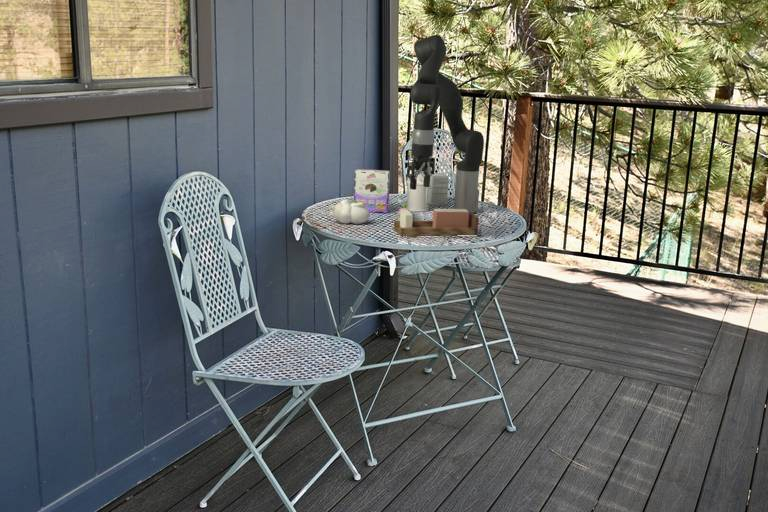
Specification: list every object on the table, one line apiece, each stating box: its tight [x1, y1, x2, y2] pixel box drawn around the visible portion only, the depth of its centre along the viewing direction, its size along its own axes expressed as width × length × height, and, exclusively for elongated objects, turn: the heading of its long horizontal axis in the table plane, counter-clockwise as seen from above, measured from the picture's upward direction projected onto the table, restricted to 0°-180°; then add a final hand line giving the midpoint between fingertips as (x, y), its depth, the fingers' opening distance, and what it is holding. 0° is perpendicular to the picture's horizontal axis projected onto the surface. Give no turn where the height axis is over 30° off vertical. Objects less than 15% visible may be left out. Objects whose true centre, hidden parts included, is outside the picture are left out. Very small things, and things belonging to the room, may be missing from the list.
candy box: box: [353, 168, 391, 214], centre depth 322 cm, size 14×6×16 cm, turn 84°
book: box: [432, 208, 469, 228], centre depth 292 cm, size 12×4×7 cm, turn 101°
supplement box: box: [428, 172, 449, 206], centre depth 343 cm, size 7×7×13 cm
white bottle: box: [406, 171, 429, 213], centre depth 328 cm, size 10×9×20 cm
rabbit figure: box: [395, 202, 413, 216], centre depth 315 cm, size 6×6×15 cm
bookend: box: [399, 210, 414, 228], centre depth 289 cm, size 2×9×6 cm, turn 11°
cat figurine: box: [328, 198, 371, 225], centre depth 300 cm, size 10×8×15 cm
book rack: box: [393, 211, 480, 238], centre depth 291 cm, size 28×12×7 cm, turn 101°
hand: (419, 188), depth 286 cm, fingers open, 8 cm apart
